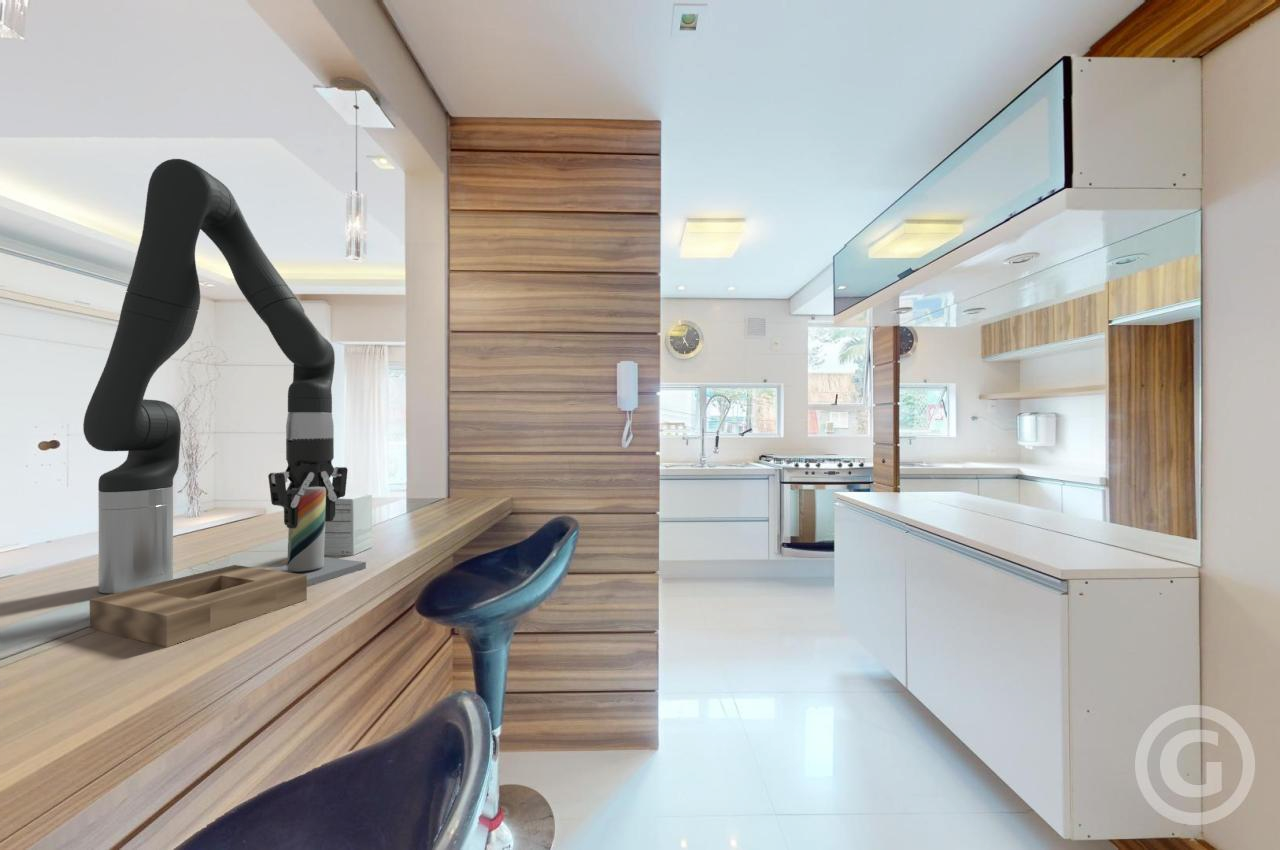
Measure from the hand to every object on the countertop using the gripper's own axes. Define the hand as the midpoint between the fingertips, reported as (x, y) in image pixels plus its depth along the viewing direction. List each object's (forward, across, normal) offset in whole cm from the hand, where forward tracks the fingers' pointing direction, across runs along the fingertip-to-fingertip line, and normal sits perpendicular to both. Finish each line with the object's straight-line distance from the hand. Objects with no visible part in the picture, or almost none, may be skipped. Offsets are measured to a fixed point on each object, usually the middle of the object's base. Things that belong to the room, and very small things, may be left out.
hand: (310, 523), depth 93 cm
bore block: (+10, +19, +4) cm, 22 cm away
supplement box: (+10, -15, -9) cm, 20 cm away
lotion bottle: (+8, +1, 0) cm, 9 cm away
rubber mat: (+10, 0, 0) cm, 10 cm away
